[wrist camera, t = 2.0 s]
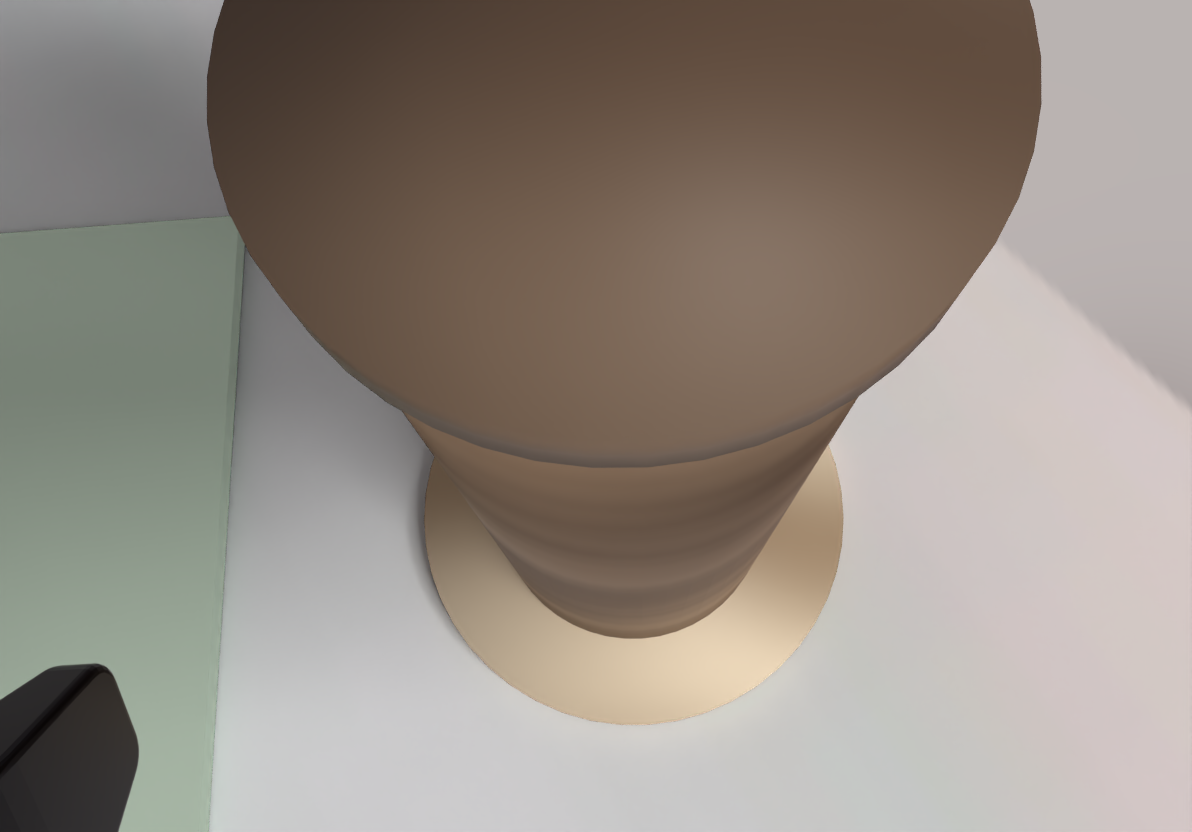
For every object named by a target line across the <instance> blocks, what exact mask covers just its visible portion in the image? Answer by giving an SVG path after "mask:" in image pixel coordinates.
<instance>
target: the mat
mask: <svg viewBox="0 0 1192 832" xmlns="http://www.w3.org/2000/svg"><path fill="white" fill-rule="evenodd" d="M244 251H245V244H244V242H243V240H242V238H241V236H240V234H239V232H238V230H237V228H236V226H235V224H234V222H233V220H232V218H231V216H223V217H210V218H197V219H184V220H171V221H157V222H144V223H131V224H118V225H105V226H91V227H78V228H65V229H52V230H39V231H25V232H12V233H0V700H1V699H2V698H4V697H5V696H7V695H8V694H10V693H11V692H13V691H14V690H16V689H17V688H19V687H20V686H22V685H23V684H25V683H26V682H28V681H29V680H31V679H33V678H34V677H36V676H37V675H39V674H40V673H42V672H43V671H45V670H47V669H48V668H51V667H55V666H60V665H75V664H91V663H97V664H101V665H104V666H106V667H107V668H108V669H109V670H110V671H111V672H112V673H113V675H114V677H115V679H116V682H117V685H118V687H119V690H120V692H121V695H122V698H123V700H124V703H125V706H126V708H127V711H128V714H129V716H130V719H131V721H132V724H133V727H134V729H135V732H136V735H137V739H138V744H139V760H138V767H137V771H136V775H135V778H134V781H133V785H132V788H131V791H130V795H129V798H128V802H127V805H126V808H125V812H124V815H123V818H122V822H121V825H120V828H119V832H208V831H209V815H210V799H211V782H212V766H213V750H214V734H215V718H216V702H217V686H218V670H219V654H220V637H221V621H222V605H223V589H224V573H225V557H226V541H227V525H228V509H229V492H230V476H231V460H232V444H233V428H234V412H235V396H236V380H237V364H238V347H239V331H240V315H241V299H242V283H243V267H244Z"/></svg>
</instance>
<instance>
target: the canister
mask: <svg viewBox="0 0 1192 832" xmlns="http://www.w3.org/2000/svg"><path fill="white" fill-rule="evenodd" d="M1040 109H1041V55H1040V48H1039V43H1038V37H1037V31H1036V25H1035V19H1034V13H1033V9H1032V6H1031V3H1030V0H224V3H223V6H222V9H221V12H220V15H219V19H218V22H217V25H216V28H215V31H214V37H213V43H212V49H211V56H210V62H209V68H208V75H207V125H208V131H209V138H210V144H211V151H212V157H213V164H214V169H215V172H216V175H217V178H218V181H219V184H220V187H221V190H222V193H223V197H224V200H225V203H226V206H227V209H228V212H229V214H230V216H231V218H232V220H233V222H234V224H235V226H236V228H237V230H238V232H239V234H240V236H241V238H242V240H243V242H244V244H245V246H246V248H247V249H248V251H249V253H250V255H251V257H252V258H253V260H254V261H255V262H256V264H257V265H258V267H259V268H260V269H261V271H262V272H263V274H264V275H265V276H266V278H267V279H268V280H269V282H270V283H271V285H272V286H273V287H274V289H275V290H276V292H277V293H278V294H279V296H280V297H281V298H282V300H283V301H284V302H285V303H286V305H287V306H288V307H289V308H290V310H291V311H292V312H293V313H294V314H295V316H296V317H297V318H298V319H299V321H300V322H301V323H302V324H303V326H304V327H305V328H306V329H307V331H308V332H309V333H310V334H311V336H312V337H313V338H314V339H315V340H316V341H317V342H318V343H319V344H320V345H321V346H322V347H323V348H324V349H325V350H326V351H327V352H328V353H329V354H330V355H331V356H332V357H333V358H334V359H335V360H336V361H337V362H338V363H339V364H340V365H341V366H342V367H343V368H344V370H345V371H347V372H348V373H349V374H350V375H352V376H353V377H354V378H356V379H357V380H358V381H360V382H361V383H362V384H364V385H365V386H366V387H367V388H369V389H370V390H371V391H373V392H374V393H375V394H377V395H378V396H379V397H381V398H382V399H383V400H384V401H386V402H387V403H389V404H391V405H393V406H394V407H396V408H398V409H400V410H402V412H403V413H404V414H405V416H406V417H407V419H408V420H409V421H410V423H411V424H412V426H413V427H414V428H415V430H416V431H417V433H418V434H419V436H420V437H421V438H422V440H423V441H424V443H425V444H426V445H427V447H428V448H429V450H430V451H431V452H432V454H433V455H434V457H435V458H436V459H437V461H438V462H439V464H440V465H441V466H442V468H443V469H444V471H445V472H446V473H447V475H448V476H449V478H450V479H451V480H452V482H453V483H454V485H455V486H456V487H457V489H458V490H459V492H460V493H461V494H462V496H463V497H464V499H465V500H466V501H467V503H468V504H469V506H470V507H471V508H472V510H473V511H474V513H475V514H476V515H477V517H478V518H479V520H480V521H481V522H482V524H483V525H484V527H485V528H486V529H487V531H488V532H489V534H490V535H491V536H492V538H493V539H494V541H495V542H496V543H497V545H498V546H499V548H500V549H501V550H502V552H503V553H504V555H505V556H506V557H507V559H508V560H509V562H510V563H511V564H512V566H513V567H514V569H515V570H516V571H517V573H518V574H519V576H520V577H521V578H522V580H523V581H524V583H525V584H526V585H527V587H528V588H529V589H530V591H531V592H532V593H533V594H534V595H535V596H536V597H537V598H538V599H539V600H540V601H541V602H542V603H543V605H545V606H546V607H547V608H548V609H550V610H551V611H552V612H553V613H555V614H556V615H557V616H559V617H561V618H562V619H564V620H566V621H567V622H569V623H571V624H572V625H575V626H577V627H579V628H582V629H584V630H586V631H589V632H592V633H596V634H600V635H603V636H608V637H615V638H623V639H643V638H650V637H658V636H662V635H666V634H670V633H673V632H677V631H679V630H681V629H684V628H686V627H689V626H691V625H693V624H695V623H697V622H698V621H700V620H702V619H703V618H705V617H707V616H708V615H710V614H711V613H712V612H713V611H715V610H716V609H717V608H718V607H720V606H721V605H722V604H723V603H724V602H725V601H726V600H727V599H728V598H729V597H730V596H731V595H732V594H733V593H734V591H735V590H736V589H737V587H738V586H739V584H740V583H741V582H742V580H743V579H744V578H745V576H746V574H747V573H748V571H749V570H750V568H751V566H752V565H753V563H754V562H755V560H756V558H757V557H758V555H759V554H760V552H761V551H762V549H763V547H764V546H765V544H766V543H767V541H768V539H769V538H770V536H771V535H772V533H773V531H774V530H775V528H776V527H777V525H778V523H779V522H780V520H781V519H782V517H783V516H784V514H785V512H786V511H787V509H788V508H789V506H790V504H791V503H792V501H793V500H794V498H795V496H796V495H797V493H798V492H799V490H800V489H801V487H802V485H803V484H804V482H805V481H806V479H807V477H808V476H809V474H810V473H811V471H812V469H813V468H814V466H815V465H816V463H817V462H818V460H819V458H820V457H821V455H822V454H823V452H824V450H825V449H826V447H827V446H828V444H829V442H830V441H831V439H832V438H833V436H834V435H835V433H836V431H837V430H838V428H839V427H840V425H841V423H842V422H843V420H844V419H845V417H846V415H847V414H848V412H849V411H850V409H851V408H852V406H853V404H854V403H855V401H856V400H857V398H858V396H860V395H861V394H862V393H863V392H865V391H866V390H867V389H869V388H870V387H871V386H872V385H874V384H875V383H876V382H878V381H879V380H880V379H882V378H883V377H884V376H885V375H887V374H888V373H889V372H891V371H892V370H893V369H895V368H896V367H897V366H898V365H899V364H900V363H901V362H902V361H903V360H904V359H905V358H906V357H907V356H908V355H909V354H910V353H911V352H912V351H913V350H914V349H915V348H916V347H917V346H918V345H919V344H920V343H921V342H922V341H923V340H924V339H925V338H926V337H927V336H928V335H929V334H930V333H931V332H932V331H933V330H934V329H935V327H936V326H937V324H938V323H939V322H940V320H941V319H942V318H943V316H944V315H945V313H946V312H947V311H948V309H949V308H950V306H951V305H952V304H953V302H954V301H955V300H956V298H957V297H958V295H959V294H960V293H961V291H962V290H963V289H964V287H965V286H966V284H967V283H968V281H969V280H970V279H971V277H972V276H973V274H974V273H975V272H976V270H977V269H978V267H979V266H980V265H981V263H982V262H983V260H984V259H985V258H986V256H987V255H988V253H989V252H990V251H991V249H992V248H993V246H994V245H995V243H996V241H997V239H998V237H999V235H1000V234H1001V232H1002V230H1003V227H1004V226H1005V224H1006V222H1007V220H1008V218H1009V216H1010V214H1011V212H1012V210H1013V208H1014V206H1015V204H1016V202H1017V200H1018V198H1019V195H1020V192H1021V189H1022V186H1023V183H1024V180H1025V177H1026V174H1027V171H1028V168H1029V164H1030V162H1031V159H1032V156H1033V152H1034V147H1035V141H1036V135H1037V128H1038V122H1039V114H1040Z"/></svg>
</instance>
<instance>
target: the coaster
mask: <svg viewBox="0 0 1192 832" xmlns="http://www.w3.org/2000/svg"><path fill="white" fill-rule="evenodd" d="M424 525H425V539H426V549H427V554H428V558H429V563H430V568H431V573H432V576H433V579H434V582H435V584H436V587H437V590H438V593H439V596H440V599H441V601H442V603H443V605H444V606H445V608H446V610H447V612H448V614H449V616H450V618H451V620H452V622H453V624H454V625H455V627H456V628H457V630H458V631H459V632H460V634H461V635H462V637H463V638H464V640H465V641H466V642H467V644H468V645H469V647H470V648H471V649H472V650H473V651H474V652H475V653H476V654H477V655H478V656H479V657H480V659H481V660H482V661H483V662H484V663H485V664H486V665H487V666H488V667H489V668H490V669H491V670H493V671H494V672H495V673H496V674H497V675H499V676H500V677H501V678H502V679H503V680H505V681H506V682H507V683H508V684H510V685H511V686H512V687H514V688H516V689H517V690H519V691H521V692H522V693H524V694H525V695H527V696H529V697H530V698H532V699H534V700H535V701H538V702H540V703H542V704H544V705H547V706H549V707H551V708H553V709H556V710H558V711H560V712H563V713H566V714H569V715H573V716H576V717H580V718H583V719H587V720H590V721H597V722H604V723H611V724H618V725H650V724H657V723H665V722H672V721H678V720H682V719H685V718H689V717H692V716H696V715H700V714H703V713H706V712H708V711H710V710H713V709H715V708H717V707H720V706H722V705H724V704H727V703H729V702H731V701H733V700H735V699H736V698H738V697H740V696H741V695H743V694H745V693H746V692H748V691H749V690H751V689H753V688H754V687H756V686H757V685H759V684H760V683H761V682H762V681H764V680H765V679H766V678H767V677H768V676H770V675H771V674H772V673H773V672H775V671H776V670H777V669H778V668H779V667H780V666H781V665H782V664H783V663H784V662H785V661H786V660H787V659H788V658H789V657H790V656H791V654H792V653H793V652H794V651H795V650H796V649H797V648H798V647H799V645H800V644H801V643H802V641H803V640H804V638H805V637H806V635H807V634H808V633H809V631H810V630H811V628H812V627H813V625H814V624H815V622H816V620H817V618H818V616H819V614H820V612H821V610H822V608H823V606H824V604H825V602H826V600H827V598H828V596H829V593H830V590H831V587H832V584H833V581H834V578H835V575H836V572H837V567H838V562H839V557H840V552H841V547H842V534H843V506H842V493H841V487H840V483H839V478H838V473H837V469H836V464H835V462H834V459H833V456H832V453H831V450H830V448H829V445H828V446H827V447H826V449H825V450H824V452H823V454H822V455H821V457H820V458H819V460H818V462H817V463H816V465H815V466H814V468H813V469H812V471H811V473H810V474H809V476H808V477H807V479H806V481H805V482H804V484H803V485H802V487H801V489H800V490H799V492H798V493H797V495H796V496H795V498H794V500H793V501H792V503H791V504H790V506H789V508H788V509H787V511H786V512H785V514H784V516H783V517H782V519H781V520H780V522H779V523H778V525H777V527H776V528H775V530H774V531H773V533H772V535H771V536H770V538H769V539H768V541H767V543H766V544H765V546H764V547H763V549H762V551H761V552H760V554H759V555H758V557H757V558H756V560H755V562H754V563H753V565H752V566H751V568H750V570H749V571H748V573H747V574H746V576H745V578H744V579H743V580H742V582H741V583H740V584H739V586H738V587H737V589H736V590H735V591H734V593H733V594H732V595H731V596H730V597H729V598H728V599H727V600H726V601H725V602H724V603H723V604H722V605H721V606H720V607H718V608H717V609H716V610H715V611H713V612H712V613H711V614H710V615H708V616H707V617H705V618H703V619H702V620H700V621H698V622H697V623H695V624H693V625H691V626H689V627H686V628H684V629H681V630H679V631H677V632H673V633H670V634H666V635H662V636H658V637H650V638H643V639H623V638H615V637H608V636H603V635H600V634H596V633H592V632H589V631H586V630H584V629H582V628H579V627H577V626H575V625H572V624H571V623H569V622H567V621H566V620H564V619H562V618H561V617H559V616H557V615H556V614H555V613H553V612H552V611H551V610H550V609H548V608H547V607H546V606H545V605H543V603H542V602H541V601H540V600H539V599H538V598H537V597H536V596H535V595H534V594H533V593H532V592H531V591H530V589H529V588H528V587H527V585H526V584H525V583H524V581H523V580H522V578H521V577H520V576H519V574H518V573H517V571H516V570H515V569H514V567H513V566H512V564H511V563H510V562H509V560H508V559H507V557H506V556H505V555H504V553H503V552H502V550H501V549H500V548H499V546H498V545H497V543H496V542H495V541H494V539H493V538H492V536H491V535H490V534H489V532H488V531H487V529H486V528H485V527H484V525H483V524H482V522H481V521H480V520H479V518H478V517H477V515H476V514H475V513H474V511H473V510H472V508H471V507H470V506H469V504H468V503H467V501H466V500H465V499H464V497H463V496H462V494H461V493H460V492H459V490H458V489H457V487H456V486H455V485H454V483H453V482H452V480H451V479H450V478H449V476H448V475H447V473H446V472H445V471H444V469H443V468H442V466H441V465H440V464H439V462H438V461H437V459H436V458H435V457H434V460H433V463H432V466H431V470H430V475H429V480H428V485H427V490H426V498H425V515H424Z"/></svg>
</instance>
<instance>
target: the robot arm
mask: <svg viewBox="0 0 1192 832" xmlns="http://www.w3.org/2000/svg"><path fill="white" fill-rule="evenodd" d="M138 760H139V744H138V739H137V735H136V732H135V729H134V727H133V724H132V721H131V719H130V716H129V714H128V711H127V708H126V706H125V703H124V700H123V698H122V695H121V692H120V690H119V687H118V685H117V682H116V679H115V677H114V675H113V673H112V672H111V671H110V670H109V669H108V668H107V667H106V666H104V665H101V664H97V663H91V664H75V665H60V666H55V667H51V668H48V669H47V670H45V671H43V672H42V673H40V674H39V675H37V676H36V677H34V678H33V679H31V680H29V681H28V682H26V683H25V684H23V685H22V686H20V687H19V688H17V689H16V690H14V691H13V692H11V693H10V694H8V695H7V696H5V697H4V698H2V699H1V700H0V832H119V828H120V825H121V822H122V818H123V815H124V812H125V808H126V805H127V802H128V798H129V795H130V791H131V788H132V785H133V781H134V778H135V775H136V771H137V767H138Z"/></svg>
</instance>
